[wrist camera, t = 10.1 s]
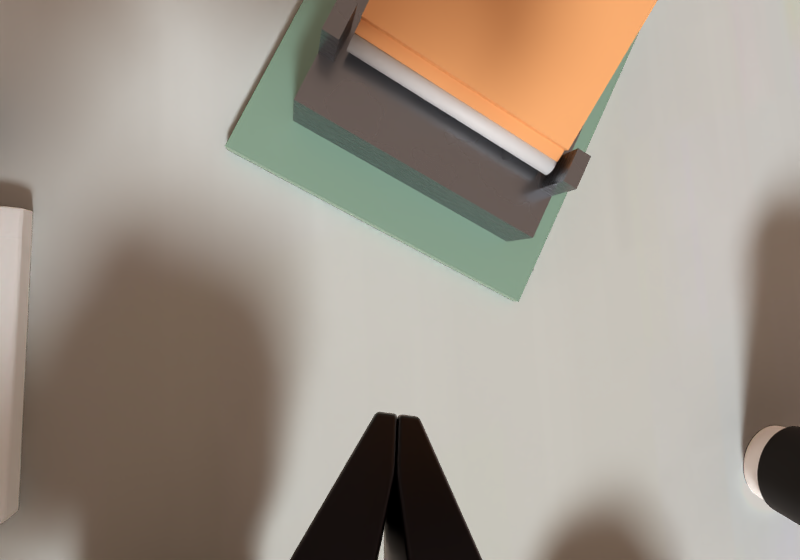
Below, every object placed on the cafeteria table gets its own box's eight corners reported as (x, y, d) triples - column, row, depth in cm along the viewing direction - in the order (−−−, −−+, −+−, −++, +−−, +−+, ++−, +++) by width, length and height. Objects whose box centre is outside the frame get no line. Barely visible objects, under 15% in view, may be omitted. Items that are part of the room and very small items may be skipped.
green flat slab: (512, 301, 23) (518, 301, 23) (226, 149, 20) (225, 146, 19) (664, -39, 26) (673, -46, 25) (432, -232, 22) (436, -246, 21)
